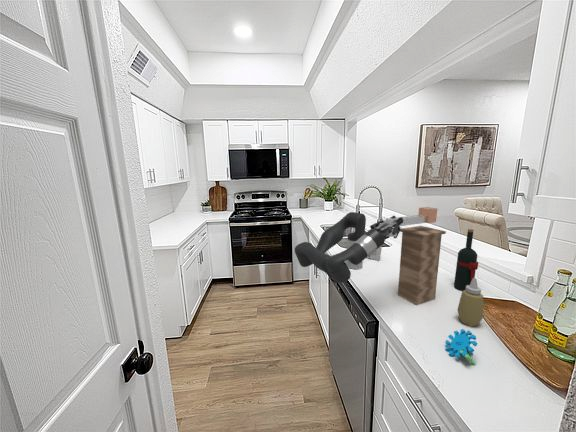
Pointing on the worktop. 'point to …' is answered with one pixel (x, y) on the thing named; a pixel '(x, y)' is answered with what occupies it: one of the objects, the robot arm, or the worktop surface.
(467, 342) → the blue flower
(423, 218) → the copper head mallet
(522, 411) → the worktop surface
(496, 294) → the worktop surface
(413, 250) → the shelf post
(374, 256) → the electrical switch
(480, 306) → the squeeze bottle
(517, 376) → the worktop surface
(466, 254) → the wine bottle
